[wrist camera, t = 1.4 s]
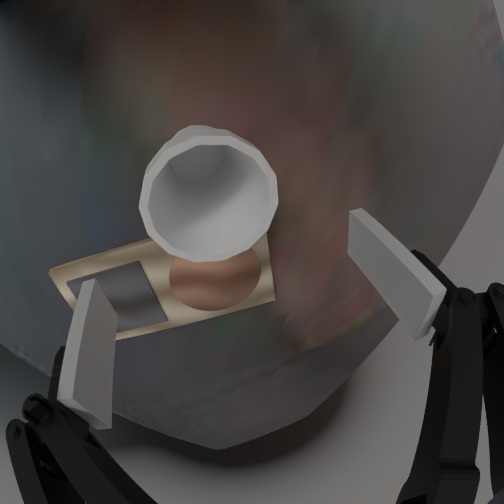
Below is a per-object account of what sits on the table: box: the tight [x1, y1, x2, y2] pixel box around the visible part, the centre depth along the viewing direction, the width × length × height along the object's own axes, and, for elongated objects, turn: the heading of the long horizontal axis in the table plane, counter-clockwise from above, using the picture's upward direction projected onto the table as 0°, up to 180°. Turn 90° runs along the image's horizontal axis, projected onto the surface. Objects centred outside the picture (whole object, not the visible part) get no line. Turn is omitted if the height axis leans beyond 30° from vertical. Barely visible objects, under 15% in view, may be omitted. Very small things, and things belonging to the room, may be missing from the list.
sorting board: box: [49, 232, 275, 340], centre depth 37 cm, size 15×29×1 cm, turn 99°
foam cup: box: [139, 125, 279, 262], centre depth 24 cm, size 10×9×13 cm
